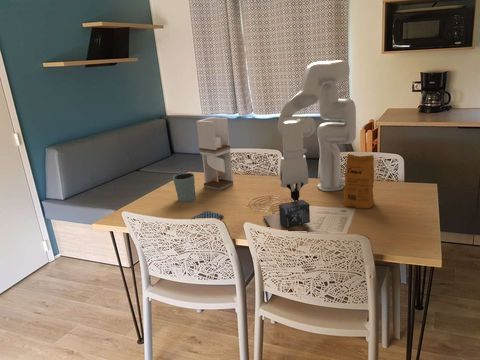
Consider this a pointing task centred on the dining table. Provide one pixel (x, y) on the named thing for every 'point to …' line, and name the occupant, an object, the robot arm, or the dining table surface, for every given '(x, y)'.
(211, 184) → the white drip coffee maker
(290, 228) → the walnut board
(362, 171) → the coffee package
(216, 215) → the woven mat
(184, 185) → the teal cup
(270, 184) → the dining table surface
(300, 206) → the box
